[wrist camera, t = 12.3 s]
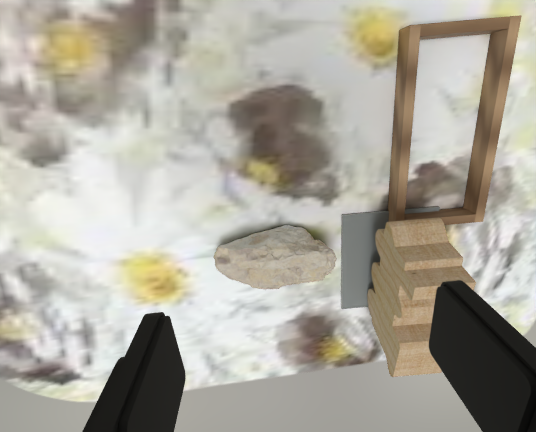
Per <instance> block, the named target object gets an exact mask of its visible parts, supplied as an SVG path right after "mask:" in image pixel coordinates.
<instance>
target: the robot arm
mask: <svg viewBox="0 0 536 432" xmlns="http://www.w3.org/2000/svg"><path fill="white" fill-rule="evenodd" d="M429 350H430V353H431V355H432V357H433V358H434V360H435V361H436V363H437V364H438V366H439V367H440V369H441V370H442V372H443V373H444V375H445V376H446V378H447V379H448V381H449V382H450V384H451V385H452V387H453V388H454V390H455V391H456V393H457V394H458V396H459V397H460V399H461V400H462V401H463V403H464V404H465V406H466V408H467V409H468V411H469V412H470V413H471V415H472V416H473V418H474V420H475V421H476V422H477V424H478V425H479V427H480V428H481V430H482V431H483V432H536V348H535V347H534V346H533V345H532V344H531V343H530V342H529V341H528V340H527V339H526V338H524V337H523V336H522V335H521V334H520V333H519V332H518V331H517V330H516V329H515V328H514V327H513V326H511V325H510V324H509V323H508V322H507V321H506V320H505V319H504V318H503V317H502V316H501V315H499V314H498V313H497V312H496V311H495V310H494V309H493V308H492V307H491V306H490V305H489V304H488V303H486V302H485V301H484V300H483V299H482V298H481V297H480V296H479V295H478V294H477V293H476V292H474V291H473V290H472V289H471V288H470V287H469V286H468V285H467V284H466V283H465V282H463V281H462V280H456V281H446V282H442V284H441V286H440V287H438V288H437V290H436V297H435V304H434V311H433V317H432V324H431V331H430V338H429ZM184 384H185V370H184V366H183V362H182V359H181V355H180V352H179V348H178V344H177V341H176V337H175V334H174V330H173V326H172V323H171V319H170V317H169V316H165V315H164V313H163V312H159V313H150V314H145V315H144V317H143V319H142V321H141V323H140V325H139V327H138V330H137V332H136V334H135V336H134V338H133V340H132V342H131V344H130V347H129V349H128V351H127V353H126V355H125V357H121V358H120V359H119V360H118V361H117V363H116V365H115V367H114V369H113V371H112V373H111V375H110V377H109V379H108V381H107V383H106V385H105V387H104V389H103V391H102V393H101V395H100V397H99V399H98V401H97V403H96V405H95V407H94V409H93V411H92V413H91V416H90V418H89V419H88V421H87V423H86V426H85V428H84V430H83V432H174V428H175V424H176V419H177V415H178V411H179V406H180V402H181V397H182V393H183V389H184Z"/></svg>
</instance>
